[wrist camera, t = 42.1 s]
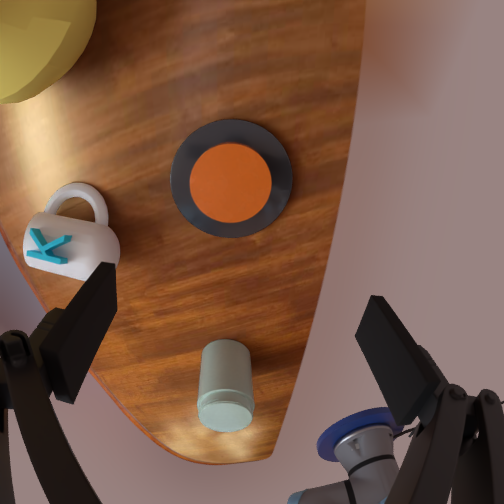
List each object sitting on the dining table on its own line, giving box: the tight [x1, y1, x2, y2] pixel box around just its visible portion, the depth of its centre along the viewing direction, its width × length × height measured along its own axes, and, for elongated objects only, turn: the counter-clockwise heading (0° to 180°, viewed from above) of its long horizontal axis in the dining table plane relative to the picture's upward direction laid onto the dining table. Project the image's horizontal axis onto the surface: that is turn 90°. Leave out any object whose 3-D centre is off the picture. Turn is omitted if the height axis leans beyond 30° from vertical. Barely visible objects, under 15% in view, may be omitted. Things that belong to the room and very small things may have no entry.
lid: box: [190, 142, 272, 223], centre depth 35 cm, size 9×9×2 cm
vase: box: [0, 0, 97, 104], centre depth 18 cm, size 18×18×19 cm
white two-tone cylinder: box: [23, 183, 120, 281], centre depth 34 cm, size 12×9×12 cm
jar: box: [197, 339, 255, 432], centre depth 42 cm, size 8×8×12 cm
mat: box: [170, 119, 292, 238], centre depth 36 cm, size 14×14×1 cm
